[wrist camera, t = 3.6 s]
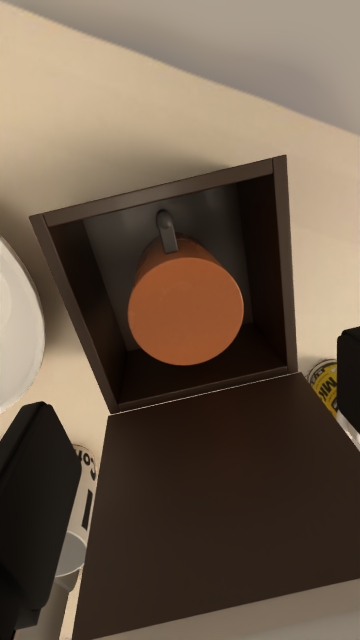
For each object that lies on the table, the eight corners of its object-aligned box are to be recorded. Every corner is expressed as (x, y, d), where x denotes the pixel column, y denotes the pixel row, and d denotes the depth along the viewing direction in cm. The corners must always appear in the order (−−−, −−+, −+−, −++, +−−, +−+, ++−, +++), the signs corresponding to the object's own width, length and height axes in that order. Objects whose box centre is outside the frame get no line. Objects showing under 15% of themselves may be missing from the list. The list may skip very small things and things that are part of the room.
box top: (33, 865, 7) (104, 851, 10) (584, 754, 7) (506, 770, 10) (107, 415, 21) (129, 461, 24) (301, 371, 21) (300, 423, 23)
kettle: (122, 216, 23) (97, 231, 13) (198, 198, 23) (230, 199, 13) (156, 333, 28) (156, 409, 18) (219, 318, 28) (254, 387, 18)
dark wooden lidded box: (71, 209, 24) (27, 216, 16) (241, 168, 23) (286, 154, 15) (122, 355, 30) (110, 415, 22) (259, 324, 29) (298, 372, 21)
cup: (118, 450, 35) (104, 540, 26) (88, 490, 37) (67, 585, 28) (55, 426, 33) (15, 515, 23) (28, 470, 35) (-17, 566, 26)
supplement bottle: (312, 358, 32) (362, 410, 24) (351, 358, 32) (413, 410, 24) (302, 393, 33) (346, 452, 26) (340, 393, 34) (394, 450, 26)
